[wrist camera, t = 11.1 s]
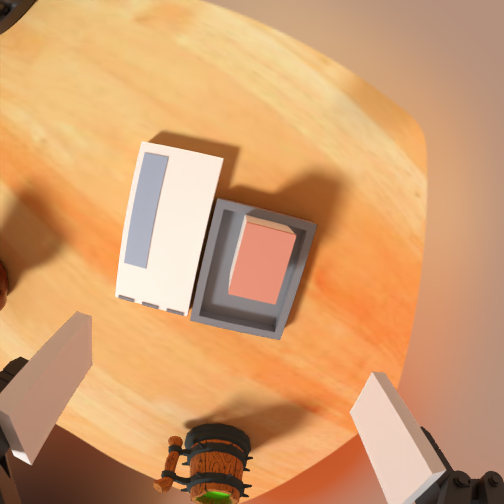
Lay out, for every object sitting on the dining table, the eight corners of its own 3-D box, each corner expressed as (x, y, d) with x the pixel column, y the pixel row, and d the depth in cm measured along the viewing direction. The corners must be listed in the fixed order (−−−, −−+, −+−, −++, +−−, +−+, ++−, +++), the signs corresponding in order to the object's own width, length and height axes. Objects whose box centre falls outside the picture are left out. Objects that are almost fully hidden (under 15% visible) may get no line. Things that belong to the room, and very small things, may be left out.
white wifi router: (146, 142, 27) (141, 141, 26) (224, 159, 28) (223, 158, 26) (120, 290, 31) (114, 296, 29) (189, 309, 32) (186, 316, 30)
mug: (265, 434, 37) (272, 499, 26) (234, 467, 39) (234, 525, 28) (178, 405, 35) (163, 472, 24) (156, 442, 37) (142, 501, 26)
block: (245, 212, 29) (246, 222, 23) (285, 223, 29) (296, 235, 24) (230, 271, 30) (228, 293, 25) (268, 280, 31) (275, 304, 25)
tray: (218, 197, 29) (217, 198, 27) (312, 221, 30) (317, 224, 28) (192, 313, 32) (189, 320, 30) (278, 331, 33) (280, 340, 31)
